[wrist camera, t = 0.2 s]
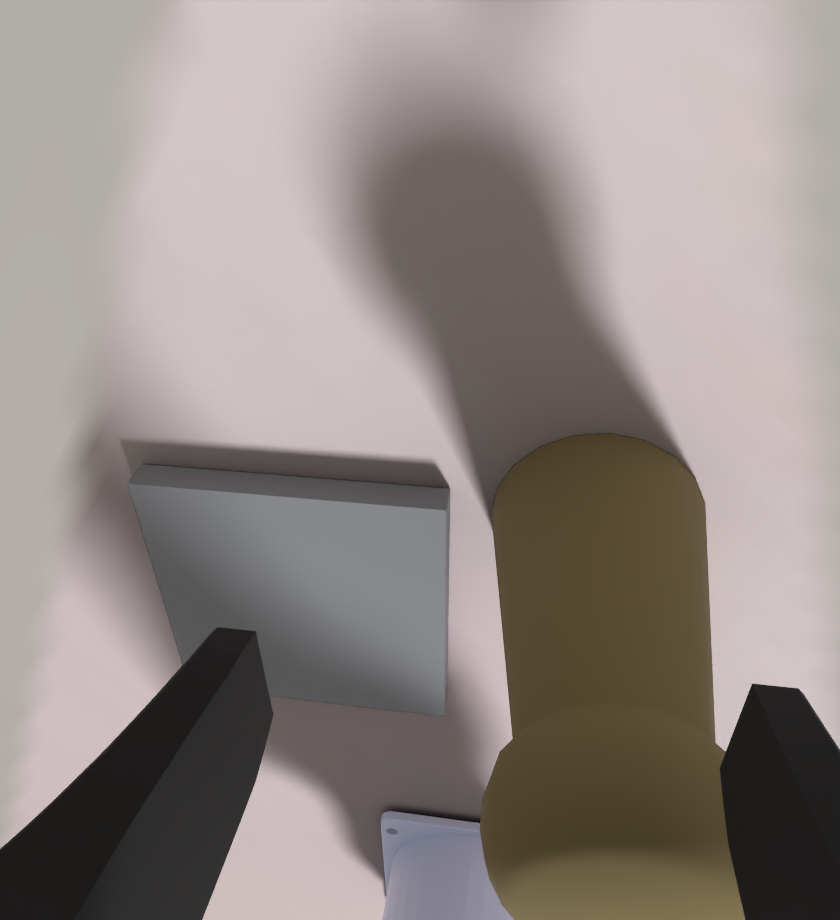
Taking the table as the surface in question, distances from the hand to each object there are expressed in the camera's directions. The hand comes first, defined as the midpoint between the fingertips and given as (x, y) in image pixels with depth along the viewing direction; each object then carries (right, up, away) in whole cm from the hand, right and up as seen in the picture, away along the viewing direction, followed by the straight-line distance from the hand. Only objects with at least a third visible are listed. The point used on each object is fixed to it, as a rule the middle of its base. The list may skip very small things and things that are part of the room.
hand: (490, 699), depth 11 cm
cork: (+4, +2, +11) cm, 11 cm away
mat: (-5, -1, +14) cm, 15 cm away
